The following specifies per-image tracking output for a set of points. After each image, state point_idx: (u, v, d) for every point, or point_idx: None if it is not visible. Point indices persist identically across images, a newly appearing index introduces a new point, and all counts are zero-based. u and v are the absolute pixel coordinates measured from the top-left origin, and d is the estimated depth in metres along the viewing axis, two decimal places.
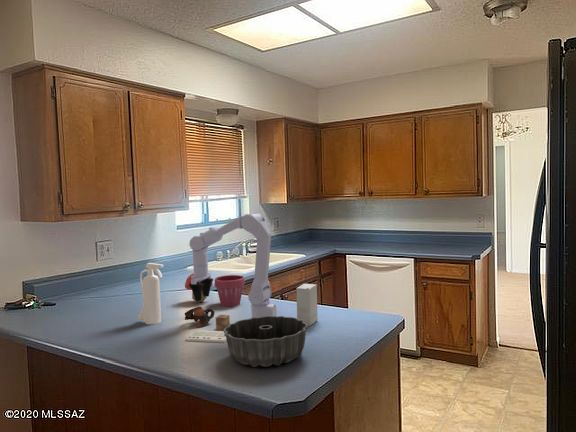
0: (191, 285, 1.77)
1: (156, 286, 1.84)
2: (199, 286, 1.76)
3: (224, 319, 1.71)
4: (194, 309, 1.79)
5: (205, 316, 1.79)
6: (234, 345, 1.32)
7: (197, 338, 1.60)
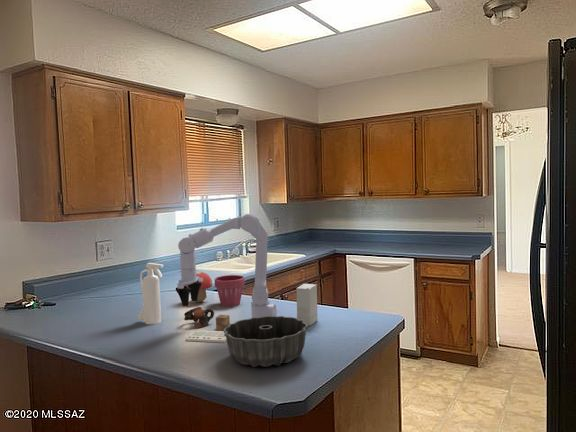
0: (178, 289, 1.67)
1: (156, 286, 1.84)
2: (186, 290, 1.67)
3: (224, 319, 1.71)
4: (194, 309, 1.78)
5: (205, 316, 1.79)
6: (234, 345, 1.32)
7: (197, 338, 1.60)
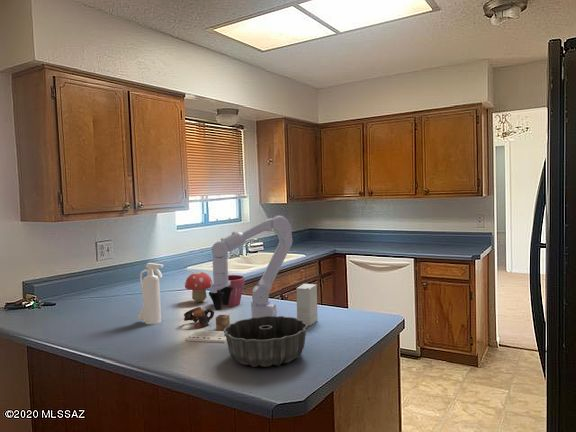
0: (211, 294, 1.67)
1: (156, 286, 1.84)
2: (219, 295, 1.67)
3: (224, 319, 1.71)
4: (193, 310, 1.78)
5: (205, 317, 1.78)
6: (234, 345, 1.32)
7: (197, 338, 1.60)
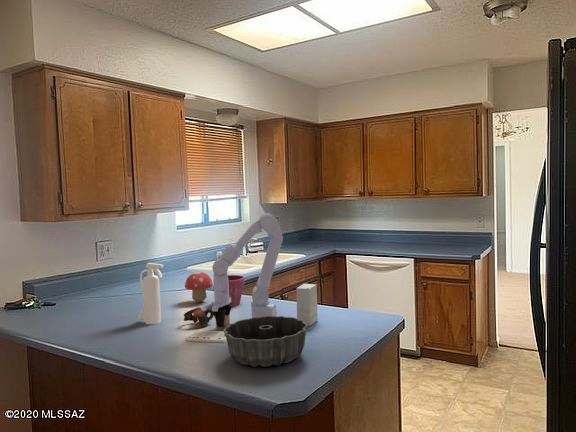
0: (213, 311, 1.69)
1: (156, 286, 1.84)
2: (222, 312, 1.69)
3: (224, 319, 1.71)
4: (193, 310, 1.78)
5: (204, 317, 1.78)
6: (234, 345, 1.32)
7: (197, 338, 1.60)
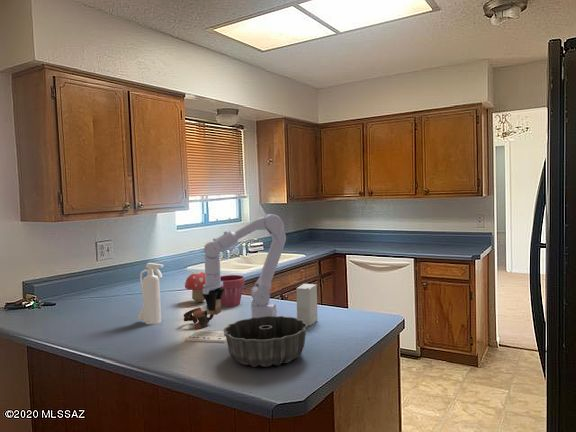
0: (204, 294, 1.66)
1: (156, 286, 1.84)
2: (213, 295, 1.66)
3: (215, 303, 1.68)
4: (193, 310, 1.77)
5: (204, 317, 1.77)
6: (234, 345, 1.32)
7: (197, 338, 1.60)
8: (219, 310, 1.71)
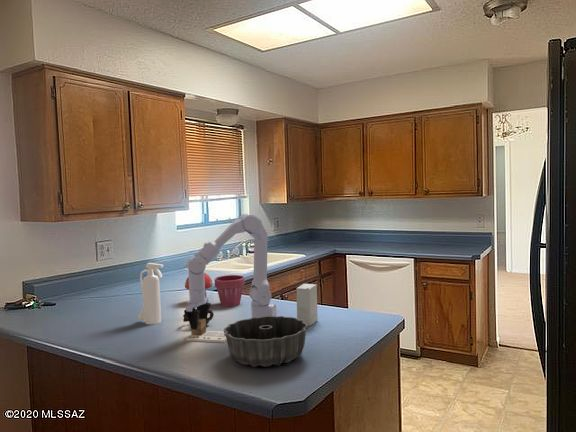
0: (186, 312, 1.60)
1: (156, 286, 1.84)
2: (195, 313, 1.59)
3: (199, 323, 1.63)
4: None
5: None
6: (234, 345, 1.32)
7: (197, 338, 1.60)
8: (204, 330, 1.66)
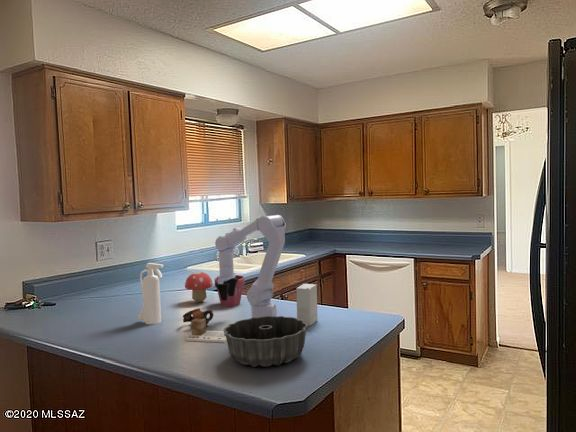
0: (217, 285, 1.79)
1: (156, 286, 1.84)
2: (225, 286, 1.78)
3: (199, 323, 1.63)
4: (193, 311, 1.76)
5: (204, 318, 1.76)
6: (234, 345, 1.32)
7: (197, 338, 1.60)
8: (204, 330, 1.66)
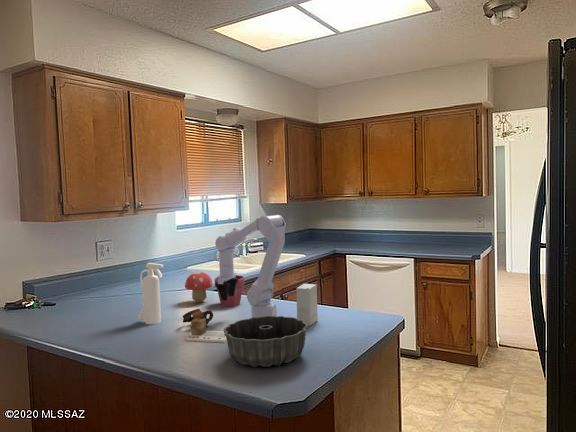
0: (218, 285, 1.79)
1: (156, 286, 1.84)
2: (226, 286, 1.78)
3: (199, 323, 1.63)
4: (192, 311, 1.75)
5: (204, 318, 1.76)
6: (234, 345, 1.32)
7: (197, 338, 1.60)
8: (204, 330, 1.66)
